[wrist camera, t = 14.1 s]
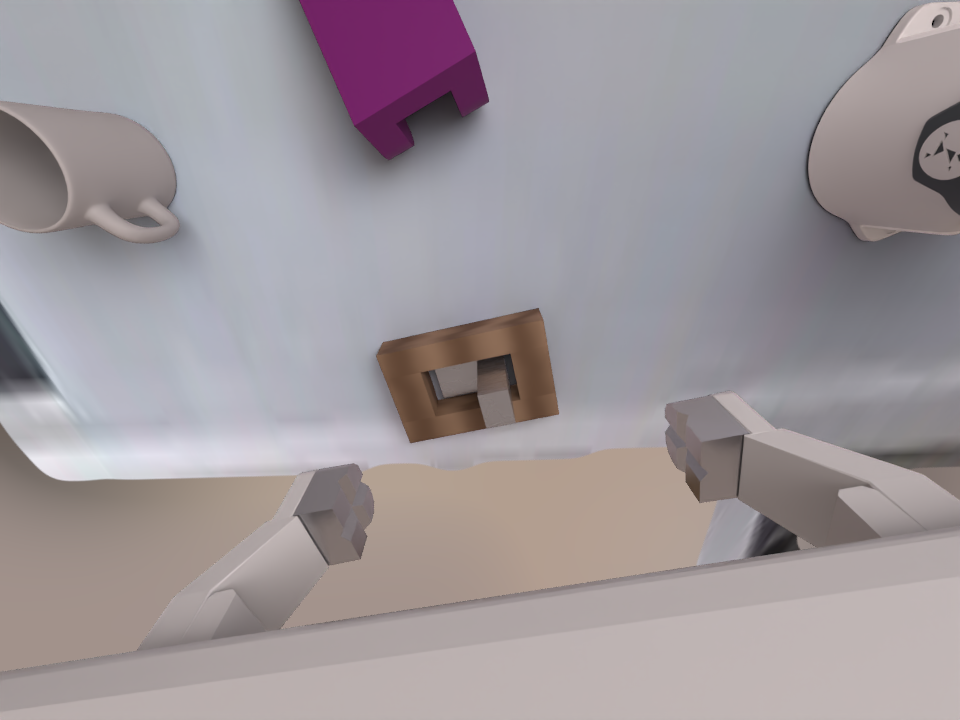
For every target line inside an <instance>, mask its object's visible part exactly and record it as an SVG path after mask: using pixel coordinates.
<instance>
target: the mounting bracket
mask: <svg viewBox="0 0 960 720" xmlns="http://www.w3.org/2000/svg"><path fill="white" fill-rule="evenodd" d="M299 1H300V3H301V5H302V8H303V10H304V12H305V14H306V17H307V19H308V21H309V24H310V26H311V28H312V30H313V33H314V35H315V37H316V40H317V42H318V44H319V46H320V49H321V51H322V53H323V56H324V58H325V60H326V62H327V65H328V67H329V69H330V72H331V74H332V76H333V78H334V81H335V83H336V85H337V88H338V90H339V92H340V94H341V97H342V99H343V101H344V104H345V106H346V108H347V110H348V113H349V115H350V117H351V120H352V122H353V124H354V126H355V127H356V128H357V129H358V130H359V131H360V132H361V133H362V134H363V135H364V137H365V138H366V139H367V140H368V141H369V142H370V143H371V144H372V145H373V146H374V147H375V148H376V149H377V150H378V151H379V152H380V153H381V154H382V155H383V156H384V157H385V158H386V159H388V160H390V159H392V158H394V157H395V156H397V155H399V154H400V153H402V152H404V151H406V150H407V149H409V148H411V147H412V146H414V140H413V137H412V134H411V131H410V129H409V127H408V124H407V122H406V120H405V118H406V117H408V116H409V115H411V114H413V113H414V112H416V111H418V110H419V109H421V108H423V107H424V106H426V105H428V104H429V103H431V102H433V101H434V100H436V99H438V98H439V97H441V96H443V95H444V94H446V93H448V92H449V91H451V93H452V95H453V97H454V100H455V102H456V104H457V106H458V109H459V111H460V113H461V115H462V117H464V116H466V115H467V114H469V113H471V112H473V111H474V110H476V109H478V108H479V107H481V106H483V105H485V104H486V103H488V102H489V98H488V94H487V90H486V87H485V83H484V80H483V76H482V73H481V69H480V65H479V62H478V58H477V55H476V51H475V49H474V47H473V44H472V42H471V40H470V38H469V35H468V33H467V31H466V29H465V26H464V24H463V22H462V20H461V17H460V15H459V13H458V11H457V9H456V6H455V4H454V2H453V0H299Z"/></svg>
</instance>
